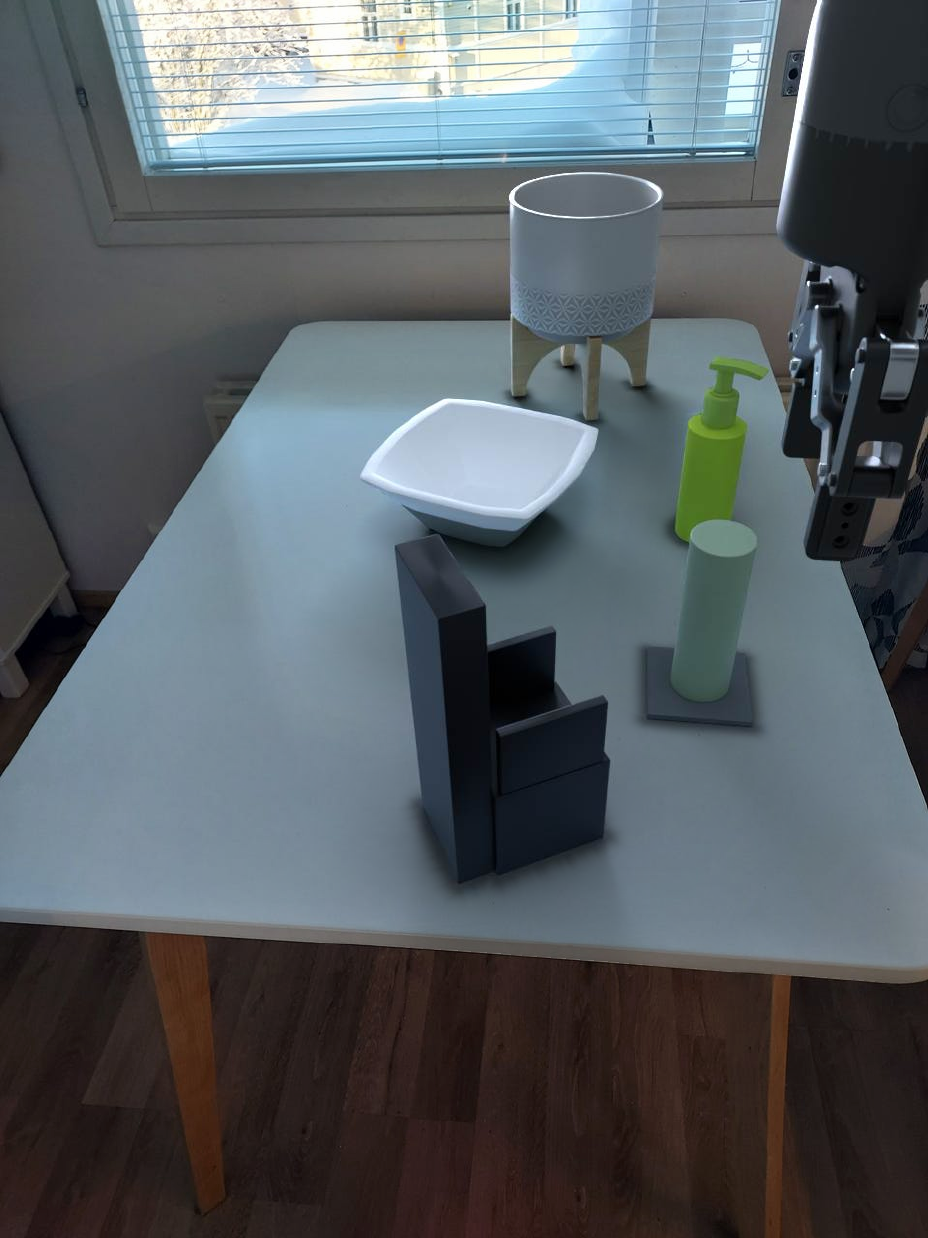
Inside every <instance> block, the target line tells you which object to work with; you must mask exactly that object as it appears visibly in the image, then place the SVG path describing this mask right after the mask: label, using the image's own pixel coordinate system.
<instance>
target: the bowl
mask: <svg viewBox="0 0 928 1238" xmlns="http://www.w3.org/2000/svg"><path fill="white" fill-rule="evenodd" d="M599 431H600V430H599V429H598V428H596V427H594V426H592V425H588V424H585V423H582V422H580V421H578V420H575V419H571V418H568V417H565V416H561V415H555V414H550V413H545V412H542V411H541V412H540V411H536V410H530V409H525V408H521V407H516V406H511V405H506V404H501V403H494V402H490V401H484V400H476V399H461V398H443V399H441V400H439V401H438V402H435V404H433V405H431V406H429V407H427V408H424V409H423V410H422V411H419V413H417V414H416V415H414V416H413V417H412V418H410V419H409V420H408V421H406V422H405V423H404V424H402V425H401V426H399V427H398V428H397V429H396V430H394V431H393V432H392V433H390V435H389V436H388V438H387V439H386V440H385V441H384V442H383V443H382V444H381V445H380V446H379V447H378V448H377V449H376V450H375V452H373V454H372V455H371V456H370V457H369V459H368V460H367V462H366V464H365V466H364V468H363V469H362V471H361V473H360V475H359V480H360V481H362V482H363V483H365V484H366V485H368V486H369V487H372V488H373V489H375V490H376V491H377V492H380V493H381V494H382V495H384V496H386V497H387V498H389V499H391V500H392V501H394V502H396V503H398V504H399V505H401V506H402V507H403V508H404V509H406V510H407V511H408V512H409V513H410V514H412V515H413V516H414V517H415V518H416V519H418V520H419V521H420V522H421V523H423V524H424V525H425V526H426V527H428V528H429V529H430V530H434V531H435V532H437V533H438V534H441V535H444V536H448V537H452V538H455V539H459V540H463V541H465V542H470V543H475V544H478V545H482V546H487V547H488V546H490V547H499V548H504V547H506V546H508V545H510V544H511V543H512V542H514V541H515V540H516V539H518V538H519V537H520V536H521V535H522V534H523V533H524V532H525V530H526V529H528V527H529V526H531V524H532V523H533V522H534V521H535V520H536V518H537V517H538V516H539V515H540V514H541V513H542V512H544V511H546V509H547V508H548V507H550V506H551V505H552V504H554V503H555V502H556V501H557V500H558V499H559V498H560V497H561V495H563V494H564V493H565V491H567V489H568V488H570V487H571V485H572V484H573V483H574V482H575V481H576V480H578V478H579V477H580V476H581V474H582V473H583V471H584V469H585V467H586V465H587V464H588V462H589V460H590V458H591V457H592V455H593V453H594V451H595V448H596V445H597V444H596V443H597V440H598V435H599Z"/></svg>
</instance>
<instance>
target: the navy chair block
mask: <svg viewBox="0 0 928 1238" xmlns="http://www.w3.org/2000/svg"><path fill="white" fill-rule="evenodd" d="M394 555H395V564H396V574H397V583H398V592H399V600H400V610H401V619H402V628H403V629H402V630H403V637H404V645H405V656H406V664H407V675H408V683H409V692H410V693H409V694H410V703H411V711H412V722H413V730H414V738H415V746H416V748H415V749H416V758H417V768H418V775H419V784H420V785H419V786H420V793H421V802H422V807H423V810H424V812H425V814H426V816H427V818H428V821H429V823H430V825H431V826H432V829H433V832H434V834H435V836H436V838H437V841H438V843H439V844H440V847H441V849H442V852H443V854H444V856H445V858H446V860H447V862H448V865H449V867H450V869H451V871H452V874H453V876H454V878H455V880H456V882H457V884H461V883H464V882H466V881H470V880H472V879H475V878H477V877H481V876H483V875H486V874H489V873H491V872H494V871H495V873H496V875H497V876H499V875H502V874H505V873H508V872H511V871H514V870H517V869H519V868H523V867H524V866H527V865H530V864H532V863H536V862H537V861H540V860H544V859H546V858H549V857H551V856H554V855H557V854H560V853H563V852H565V851H568V850H571V849H573V848H576V847H579V846H581V845H584V844H587V843H590V842H592V841H595V840H599V839H601V838H603V837H604V835H605V823H606V822H605V821H606V813H607V802H608V801H607V799H608V791H609V790H608V789H609V778H610V769H611V759H610V757H609V756H608V755H607V753H606V752H605V747H606V733H607V721H608V711H609V710H608V709H609V701H608V699H607V698H606V696H605V695H603V694H601V695H598V696H594V697H592V698H589V699H585V700H583V701H580V702H577V703H573V704H572V702H571V701H570V700H569V698H568V696H567V695H566V694H565V692H564V691H563V689H562V688H561V686H560V685H559V684H558V682H557V681H556V658H557V657H556V655H557V630H556V629H555V627H554V626H553V625H549V626H545V627H542V628H539V629H535V630H531V631H529V632H525V633H522V634H518V635H515V636H511V637H508V638H504V639H501V640H498V641H495V642H491V643H488V625H487V624H488V623H487V622H488V621H487V604H486V603H485V602H484V600H483V599H482V597H481V596H480V594H479V593H478V591H477V590H476V588H475V586H474V585H473V584H472V583H471V581H470V579H469V578H468V576H467V575H466V573H465V572H464V570H463V568H462V567H461V565H460V564H459V562H458V561H457V560H456V558H455V556H454V555H453V554H452V552H451V551H450V549H449V547H448V546H447V545H446V543H445V542H444V540H443V538H442V537H441V535H440V533H436V534H431V535H428V536H424V537H420V538H417V539H413V540H409V541H408V540H407V541H405V542H401V543H397V544H394Z"/></svg>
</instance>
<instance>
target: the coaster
mask: <svg viewBox="0 0 928 1238" xmlns="http://www.w3.org/2000/svg"><path fill="white" fill-rule="evenodd" d="M674 649H675V647H663V646H647V647H646V718H647V719H648V720H649V719H650V720H651V719H652V720H662V721H663V720H664V721H675V722H687V723H688V722H689V723H701V724H702V723H703V724H714V725H728V726H739V727H740V726H741V727H753V725H754V718H753V717H754V716H753V709H752V701H751V692H750V685H749V676H748V669H747V668H748V667H747V660H746V653H745V652H737V651H736V654H735V659H734V664H733V669H732V674H731V679H730V684H729V689H728V691H727V693H726V694H725V695H724V696H723V697H722V698H720V699H718V700H716V701H712V702H696V701H692V700H689V699H686V698H684V697H682V696H681V695H679V694H678V693H677V692H676V691H675V690H674V688H673V687H672V685H671V680H670V678H671V670H672V663H673V656H674Z"/></svg>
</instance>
